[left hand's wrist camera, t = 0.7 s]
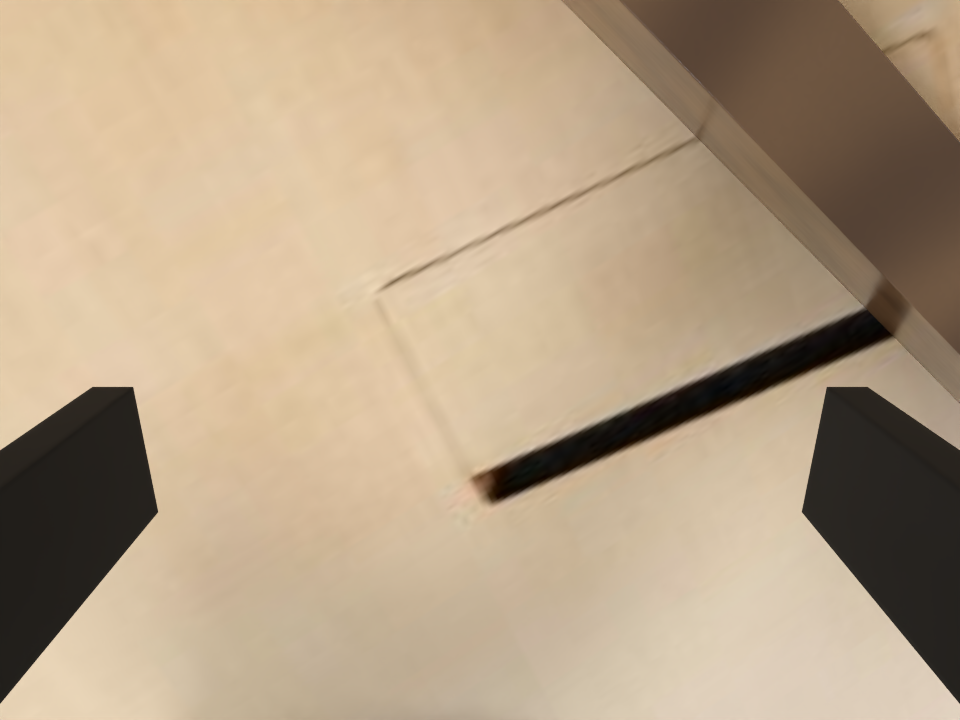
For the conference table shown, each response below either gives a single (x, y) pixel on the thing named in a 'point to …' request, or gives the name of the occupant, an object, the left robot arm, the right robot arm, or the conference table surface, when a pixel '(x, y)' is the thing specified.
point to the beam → (816, 145)
